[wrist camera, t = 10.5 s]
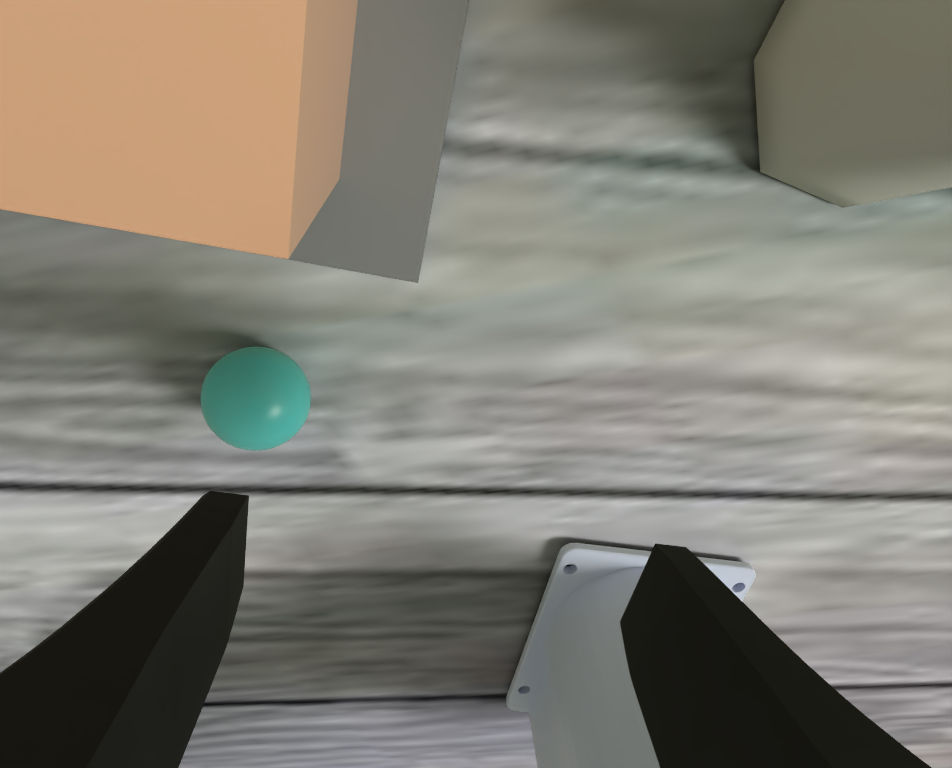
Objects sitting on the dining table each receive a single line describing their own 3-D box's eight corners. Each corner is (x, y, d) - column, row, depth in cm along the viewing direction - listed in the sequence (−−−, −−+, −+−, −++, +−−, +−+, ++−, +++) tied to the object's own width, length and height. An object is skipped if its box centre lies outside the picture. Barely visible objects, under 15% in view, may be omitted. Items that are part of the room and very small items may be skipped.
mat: (418, 276, 18) (417, 282, 18) (45, 207, 17) (32, 213, 16) (495, -154, 14) (498, -163, 13) (-7, -308, 12) (-26, -324, 12)
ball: (313, 422, 20) (296, 478, 18) (216, 408, 20) (185, 464, 17) (322, 339, 19) (306, 385, 16) (219, 322, 18) (185, 368, 16)
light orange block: (339, 179, 16) (288, 259, 10) (133, 138, 15) (-59, 199, 9) (362, -48, 14) (315, -125, 8) (124, -110, 13) (-140, -251, 7)
